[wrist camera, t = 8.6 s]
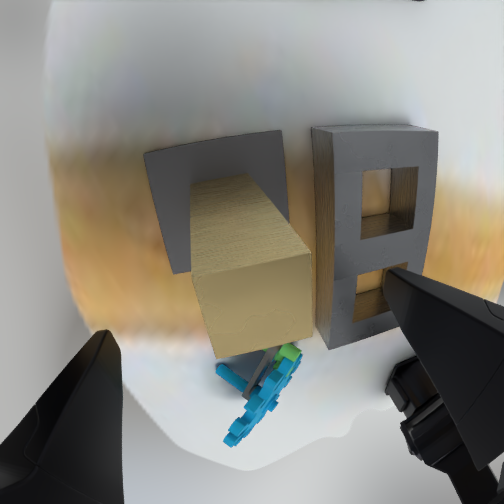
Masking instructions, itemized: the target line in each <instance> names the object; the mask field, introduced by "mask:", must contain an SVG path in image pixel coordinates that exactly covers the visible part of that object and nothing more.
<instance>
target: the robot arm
mask: <svg viewBox="0 0 504 504" xmlns="http://www.w3.org/2000/svg"><path fill="white" fill-rule="evenodd" d="M383 294H384V297H385V299H386V301H387V303H388V305H389V307H390V309H391V311H392V312H393V314H394V316H395V318H396V320H397V322H398V325H399V326H400V328H401V330H402V332H403V334H404V335H405V337H406V339H407V340H408V342H409V343H410V345H411V347H412V348H413V350H414V351H415V353H416V355H417V356H416V357H413V358H411V359H409V360H407V361H404V362H402V363H400V364H398V365H396V366H395V367H394V370H393V373H392V375H391V378H390V381H389V383H388V386H387V388H386V391H385V394H386V395H390V397H391V399H392V400H393V402H394V404H395V405H396V407H397V409H398V410H399V412H404V414H405V416H406V417H407V419H406V420H404V421H402V422H401V423H400V424H401V427H400V429H401V431H402V432H403V434H404V436H405V439H406V442H407V445H408V449H409V452H410V454H411V455H415V456H416V457H417V458H418V459H420V460H421V461H422V460H423V461H424V463H425V464H426V465H428V466H430V467H433V468H435V469H437V470H440V471H442V472H444V473H447V474H448V476H449V478H450V479H451V482H452V484H453V486H454V488H455V490H456V492H457V494H458V496H459V498H460V500H461V502H462V504H504V462H503V465H502V470H501V475H500V480H499V481H498V480H497V478H496V476H495V474H494V473H493V471H492V469H491V468H490V466H489V463H490V462H492V461H493V460H494V459H496V458H497V457H498V456H499V455H500V454H502V453H503V452H504V307H503V306H501V305H498V304H496V303H493V302H490V301H488V300H485V299H484V300H483V298H480V297H478V296H475V295H472V294H470V293H467V292H465V291H462V290H459V289H457V288H454V287H451V286H449V285H446V284H443V283H441V282H438V281H435V280H433V279H430V278H427V277H424V276H422V275H419V274H416V273H413V272H411V271H408V270H405V269H402V268H399V267H395V268H391V269H388V270H387V271H386V274H385V280H384V286H383ZM122 408H123V389H122V367H121V351H120V348H119V346H118V344H117V342H116V341H115V339H114V337H113V335H112V333H111V332H110V331H109V330H107V329H106V330H100V331H97V332H96V333H95V334H94V335H93V336H92V337H91V338H90V339H89V340H88V342H87V343H86V344H85V345H84V346H83V347H82V348H81V349H80V351H79V352H78V353H77V354H76V355H75V356H74V358H73V359H72V360H71V361H70V362H69V363H68V364H67V366H66V367H65V368H64V369H63V370H62V372H61V373H60V374H59V375H58V376H57V377H56V379H55V380H54V381H53V382H52V383H51V385H50V386H49V387H48V388H47V390H46V391H45V392H44V393H43V394H42V396H41V397H40V398H39V399H38V401H37V402H36V405H34V406H33V407H32V408H31V409H30V411H29V412H28V413H27V414H26V416H25V417H24V418H23V419H22V420H21V422H20V423H19V424H18V426H16V428H15V429H14V430H13V431H12V432H11V433H10V434H9V436H8V437H7V438H6V439H5V440H4V441H3V442H2V444H0V504H124V494H123V475H122Z"/></svg>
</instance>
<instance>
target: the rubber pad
mask: <svg viewBox="0 0 504 504" xmlns="http://www.w3.org/2000/svg"><path fill="white" fill-rule="evenodd" d="M143 156H144V160H145V165H146V170H147V174H148V179H149V183H150V188H151V192H152V196H153V200H154V205H155V209H156V213H157V217H158V221H159V225H160V228H161V232H162V236H163V240H164V243H165V247H166V251H167V254H168V258H169V261H170V265H171V268H172V272H173V274H178V273H184V272H189V271H191V237H190V184H193V183H198V182H202V181H207V180H212V179H218V178H223V177H228V176H234V175H239V174H245V173H248V174H249V175H250V176H251V177H252V179H253V180H254V181H255V182H256V183H257V185H258V186H259V187H260V188H261V190H262V191H263V192H264V193H265V194H266V196H267V197H268V198H269V199H270V201H271V202H272V203H273V204H274V206H275V207H276V208H277V209H278V211H279V212H280V213H281V214H282V216H283V217H284V218H285V219H286V221H287V222H288V223H289V211H288V197H287V184H286V172H285V161H284V149H283V139H282V131H281V130H277V131H268V132H260V133H252V134H245V135H238V136H231V137H224V138H218V139H212V140H207V141H201V142H196V143H190V144H185V145H180V146H175V147H171V148H166V149H162V150H157V151H153V152H148V153H144V154H143Z"/></svg>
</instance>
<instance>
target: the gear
mask: <svg viewBox="0 0 504 504" xmlns="http://www.w3.org/2000/svg"><path fill="white" fill-rule="evenodd" d="M262 350H263V351H265V352H266V353H265V355H264V357H263V358H262V360H261V362H260V364H259V366H258V367H257V369H256V371H255V373H254V374H253V376H252V378H251V380H250V382H247V381H246V380H244V379H243V378H241V377H240V376H239V375H237V374H236V373H234V372H233V371H232V370H230V369H229V368H228V367H226V366H225V365H223V364H221V365H220V366H219V367H218V368H217V370H216V373H217V374H218V375H219V376H221V377H222V378H223V379H225V380H226V381H227V382H229V383H230V384H232V385H233V386H234V387H236V388H237V389H238V390H240V391H241V392H243V394H242V397H244V398H245V399H246V400H248V402H247V403H246V405H245V406H244V408H245V409H246V410H247V411H246V412H245V414H244V415H243V416H242V417H241V418H240V417H238V418H237V419H236V420H235V421H234V422H233V424H232V425H231V426H230V428H229V429H228V431H230V432H229V433H228V434H227V436H226V437H225V438H224V440H223V442H224V443H225V444H227V445H228V446H230V447H233V446H237V444H238V443H239V442H240V441H241V440H242V438H245V437H246V436H247V435H248V434H249V433H250V431H251V430H252V429H253V427H254V426H255V424H256V423H257V424H258V423H259V421H260V420H261V419H262V418H263V417H264V415H265V414H266V412H267V410H269V411H270V412H272V411H273V410H274V408H275V407H276V406H277V404H278V402H277V401H276V400H277V399H278V397H279V396H280V395H279V393H280V391H281V390H282V389H283V387H284V388H285V387H286V385H287V384H288V383H289V381H290V380H291V378H292V376H291V374H292V373H294V372H295V370H296V369H297V368H298V366H299V364H300V362H301V361H300V360H301V358H302V356H303V355H302V354H301V351H302V350H300V349H298V348H297V347H295V346H294V345H292V344H290V343H286V344H284V345H278V346H274V347H270V348H266V349H262ZM274 360H275V361H276V363H275V364H274V366H273V369H274V370H273V371H272V372H271V373H270V374H269V375H268V376H267V378H266V379H265V381H264V385H263V387H261V386H259V385H258V383H259V382H260V380H261V378H262V377H263V375H264V373H265V372H266V370H267V368H268V366H269V365H270V363H272V362H273V361H274Z"/></svg>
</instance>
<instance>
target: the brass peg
mask: <svg viewBox="0 0 504 504" xmlns="http://www.w3.org/2000/svg"><path fill="white" fill-rule="evenodd" d="M190 237H191V273H192V281H193V284H194V288H195V291H196V295H197V298H198V302H199V305H200V308H201V312H202V315H203V318H204V322H205V325H206V328H207V331H208V334H209V338H210V341H211V344H212V347H213V350H214V353H215V356H216V359H220V358H225V357H230V356H235V355H239V354H244V353H248V352H253V351H257V350H261V349H266V348H270V347H274V346H278V345H282V344H286V343H290V342H294V341H297V340H301V339H305V338H309V337H312V255H311V251H310V250H309V249H308V247H307V246H306V245H305V243H304V242H303V241H302V240H301V238H300V237H299V236H298V234H297V233H296V232H295V231H294V229H293V228H292V227H291V226H290V224H289V223H288V222H287V221H286V219H285V218H284V217H283V216H282V214H281V213H280V212H279V211H278V209H277V208H276V207H275V206H274V204H273V203H272V202H271V201H270V199H269V198H268V197H267V196H266V194H265V193H264V192H263V191H262V190H261V188H260V187H259V186H258V185H257V183H256V182H255V181H254V180H253V179H252V177H251V176H250V175H249V174H248V173H245V174H239V175H234V176H228V177H223V178H218V179H212V180H207V181H202V182H198V183H193V184H190Z"/></svg>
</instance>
